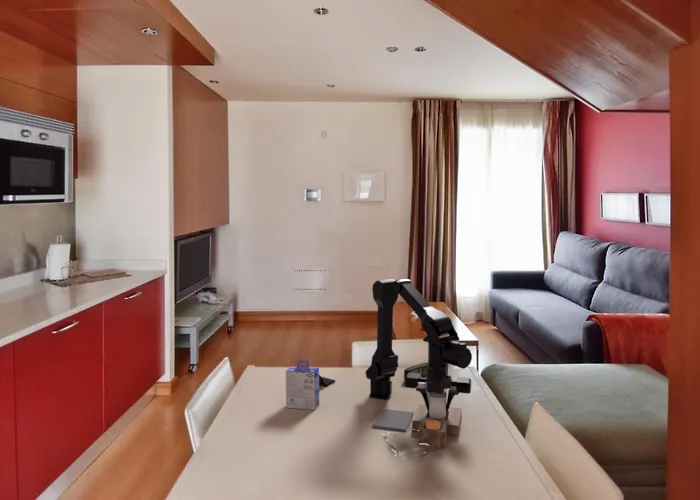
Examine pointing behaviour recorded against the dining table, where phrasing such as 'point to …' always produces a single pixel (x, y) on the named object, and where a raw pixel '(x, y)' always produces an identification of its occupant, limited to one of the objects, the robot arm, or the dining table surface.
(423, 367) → the mobile phone
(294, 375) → the ink cartridge box
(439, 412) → the cylinder
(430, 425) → the release button
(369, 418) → the dining table surface
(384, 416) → the mat
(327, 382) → the handheld gaming console
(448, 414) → the socket block
